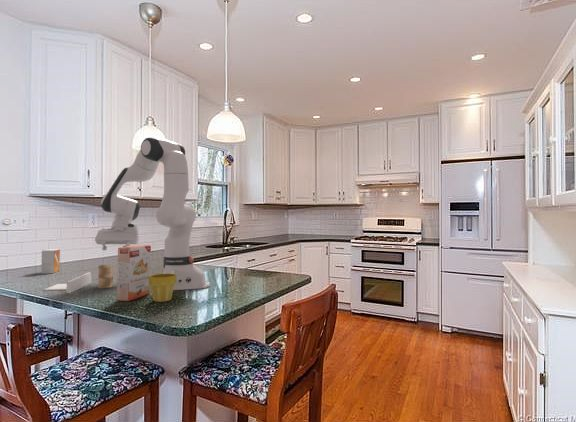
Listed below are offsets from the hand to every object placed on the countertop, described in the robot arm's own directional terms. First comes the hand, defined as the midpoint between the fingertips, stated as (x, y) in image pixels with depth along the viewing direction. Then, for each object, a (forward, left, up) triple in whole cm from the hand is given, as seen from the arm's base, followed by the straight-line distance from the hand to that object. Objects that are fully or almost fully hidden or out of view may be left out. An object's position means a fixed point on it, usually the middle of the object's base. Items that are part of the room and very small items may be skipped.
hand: (114, 249), depth 173 cm
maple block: (0, +12, -16) cm, 20 cm away
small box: (+44, -35, -16) cm, 59 cm away
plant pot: (-30, +41, -16) cm, 53 cm away
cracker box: (-18, +35, -16) cm, 43 cm away
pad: (+18, +11, -16) cm, 27 cm away
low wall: (+11, +12, -16) cm, 23 cm away
